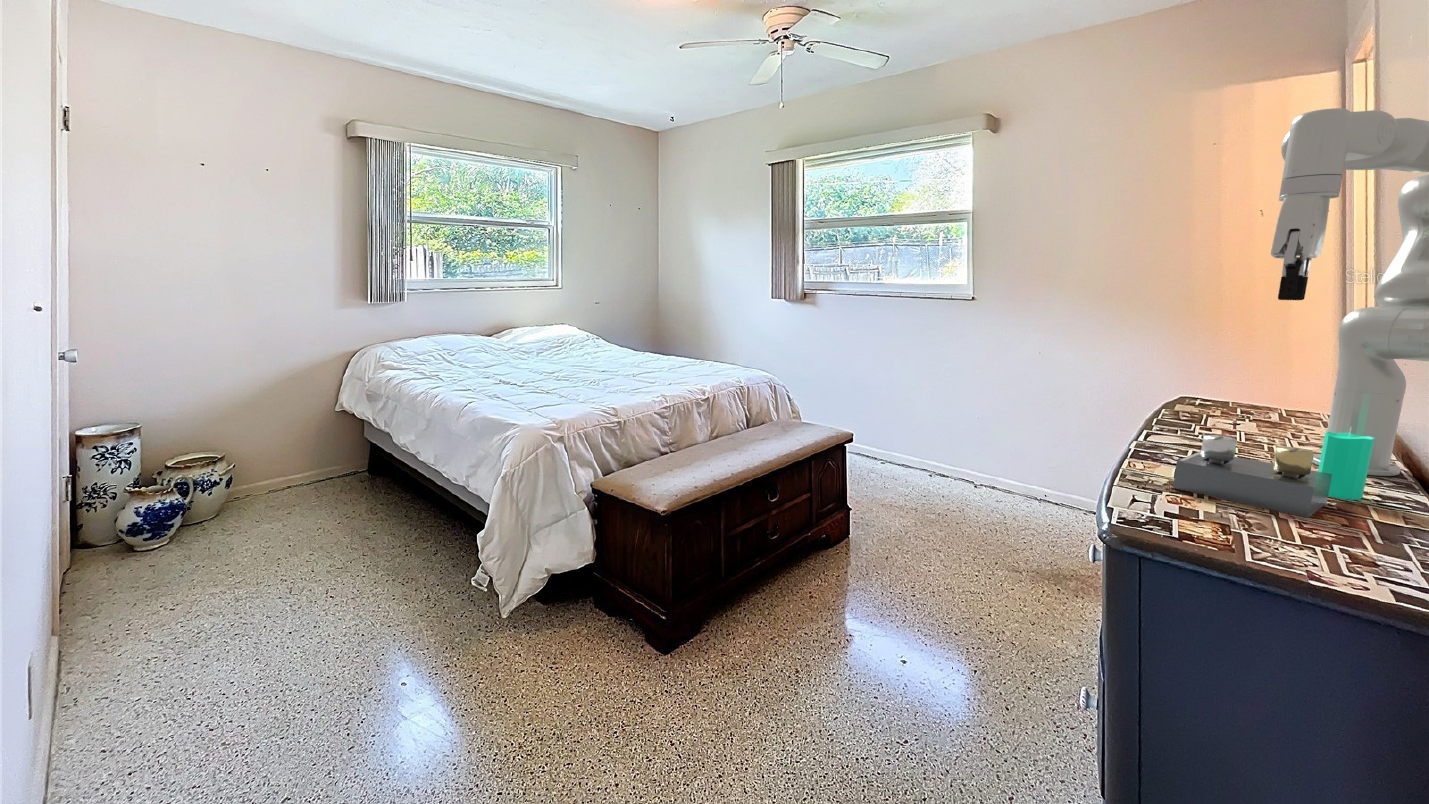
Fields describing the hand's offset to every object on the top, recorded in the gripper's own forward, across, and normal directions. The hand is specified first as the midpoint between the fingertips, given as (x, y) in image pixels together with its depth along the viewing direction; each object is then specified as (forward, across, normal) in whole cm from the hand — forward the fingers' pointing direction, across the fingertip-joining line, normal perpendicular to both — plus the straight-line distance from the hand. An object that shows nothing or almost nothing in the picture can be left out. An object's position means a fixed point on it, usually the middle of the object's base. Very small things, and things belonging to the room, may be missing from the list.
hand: (1290, 299), depth 110 cm
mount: (+33, +11, +1) cm, 35 cm away
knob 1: (+32, +11, -4) cm, 34 cm away
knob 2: (+32, +11, +6) cm, 34 cm away
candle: (+33, -3, +10) cm, 35 cm away
